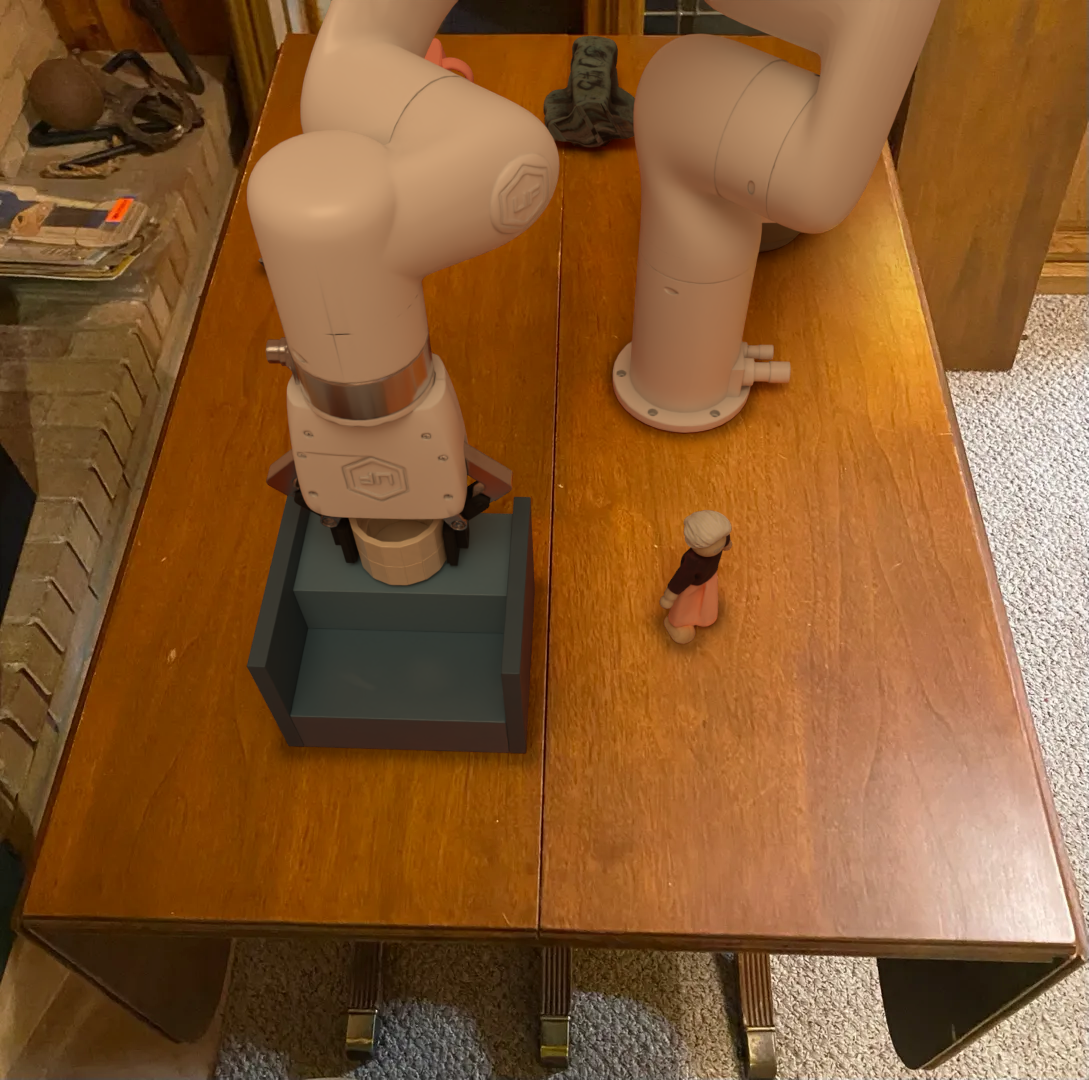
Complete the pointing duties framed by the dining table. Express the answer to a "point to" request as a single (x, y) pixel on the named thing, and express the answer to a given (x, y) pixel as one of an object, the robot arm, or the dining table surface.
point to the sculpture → (591, 98)
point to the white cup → (399, 548)
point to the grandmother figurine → (696, 576)
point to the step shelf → (399, 642)
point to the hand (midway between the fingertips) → (404, 546)
